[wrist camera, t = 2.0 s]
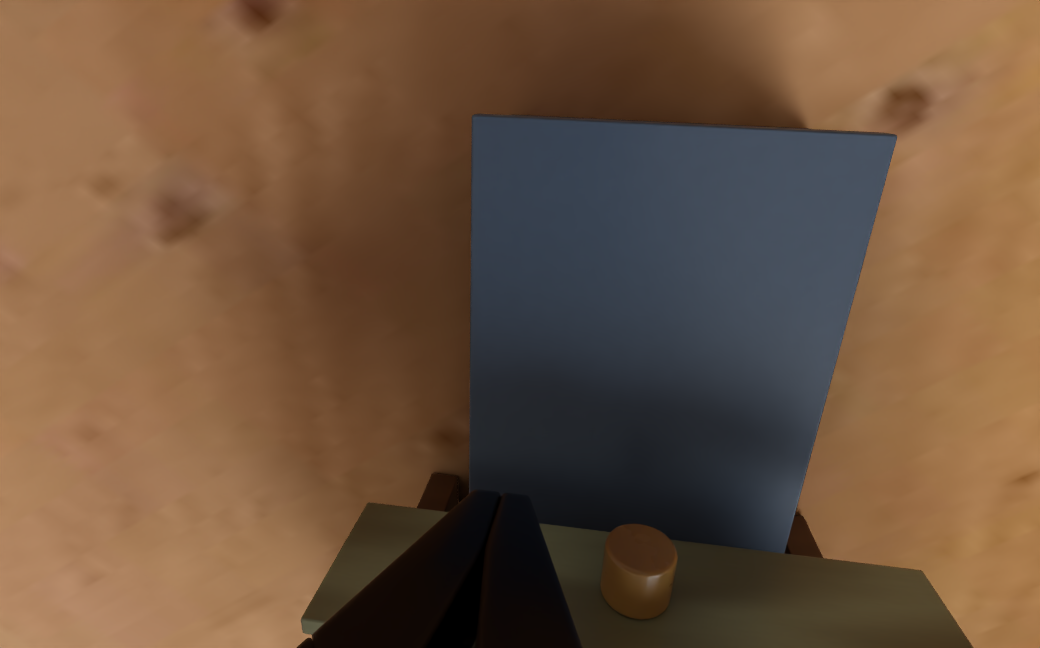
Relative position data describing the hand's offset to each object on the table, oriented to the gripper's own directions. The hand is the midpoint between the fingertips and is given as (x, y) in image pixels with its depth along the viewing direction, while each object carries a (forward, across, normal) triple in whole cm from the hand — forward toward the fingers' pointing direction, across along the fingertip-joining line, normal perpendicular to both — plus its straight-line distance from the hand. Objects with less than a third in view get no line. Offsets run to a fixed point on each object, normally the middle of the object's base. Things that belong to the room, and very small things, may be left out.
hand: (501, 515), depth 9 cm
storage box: (+10, -2, +1) cm, 10 cm away
